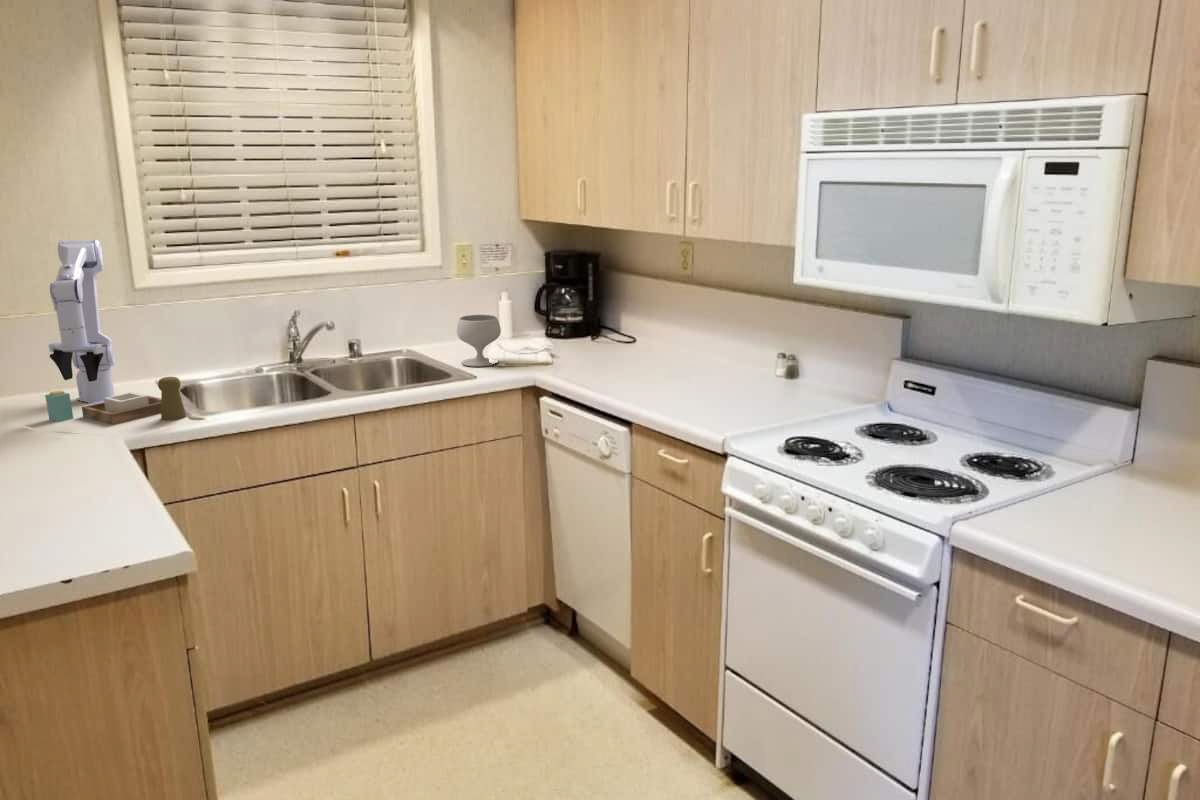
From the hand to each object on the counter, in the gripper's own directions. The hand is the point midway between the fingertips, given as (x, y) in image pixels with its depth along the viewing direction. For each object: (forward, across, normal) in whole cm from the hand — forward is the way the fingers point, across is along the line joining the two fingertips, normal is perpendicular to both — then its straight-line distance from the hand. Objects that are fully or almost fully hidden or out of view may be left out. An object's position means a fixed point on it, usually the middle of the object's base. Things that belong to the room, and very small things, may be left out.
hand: (80, 380), depth 236 cm
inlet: (+10, +8, +5) cm, 14 cm away
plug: (+10, -5, -3) cm, 12 cm away
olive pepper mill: (+10, +23, +5) cm, 25 cm away
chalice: (+11, +76, +83) cm, 113 cm away
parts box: (+10, +8, +5) cm, 14 cm away
